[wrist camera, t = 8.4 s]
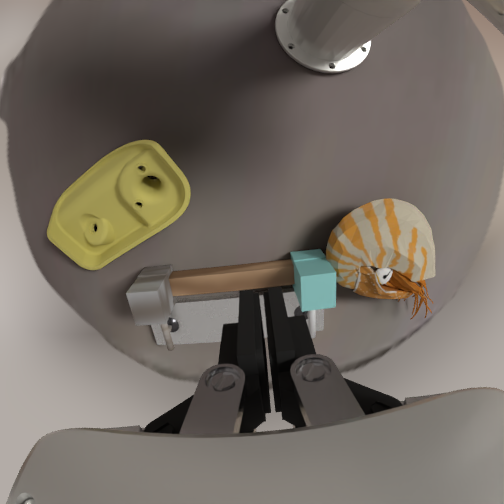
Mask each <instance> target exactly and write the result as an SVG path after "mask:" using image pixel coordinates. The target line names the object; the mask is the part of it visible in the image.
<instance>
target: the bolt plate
mask: <svg viewBox="0 0 504 504" xmlns="http://www.w3.org/2000/svg"><path fill="white" fill-rule="evenodd" d="M263 292H268V291H260V292H254V293H259V298H260V306H261V314H262V323H263V331H264V338H265V337H267V328H266V318H265V308H264V297H263ZM282 292H283V297H284V301H285V306H286V311H287V315H288V317H292V316H300V315H304V316H305V318H306V322H307V325H308V317H307V312H308V311H304V312H302V311H301V308H300V305H299V302H298V299H297V296H296V294H295V291H294V288H287V289H282ZM238 315H239V294H230V295H220V296H209V297H197V298H185V299H177V301H176V303H175V306H174V307H173V309H172V311H171V314H170V316H169V319H168V321H167V324H168V325H171V326H172V329H171V332H170V334H171V338H172V341H173V344H190V343H207V342H221V337H222V328H223V324H228V323H238ZM151 326H152V330H153V333H154V336H155V339H156V342H157V345H166V342H165V339H164V336H163V332H162V329H161V326H160V324H158V325H151ZM323 328H324V309H318V310H316V331H320V330H323Z"/></svg>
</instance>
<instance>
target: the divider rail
mask: <svg viewBox="0 0 504 504" xmlns="http://www.w3.org/2000/svg"><path fill="white" fill-rule="evenodd" d="M325 256H326V255H325ZM172 271H173V269H172V265H164V266H154V267H145V268H144V269H143V270H142V271H141V273H140V274H139V275H138V278H137V279H136V281H135V282H134V283H133V284H132V286H131V287H130V288H129V290H128V291H127V293H126V295H127V299H128V302H129V305H130V308H131V312H132V315H133V318H134V321H135V324H136V325H158V324H160V326H161V329H162V332H163V336H164V339H165V342H166V345H167V348H168V350H169V351H171V350H174V345H173V341H172V338H171V334H170V332H171V329H172V326H171V325H168V324H167V321H168V319H169V316H170V314H171V311H172V309H173V307H174V306H175V303H176V301H177V298H178V296H183V295H194V294H206V293H217V292H227V291H237V290H247V289H257V288H266V287H275V286H284V285H293V284H295V280H294V265H293V262H292V260H291V259H287V260H278V261H269V262H260V263H250V264H241V265H232V266H222V267H212V268H202V269H193V270H183V271H173V272H172Z"/></svg>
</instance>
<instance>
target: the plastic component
mask: <svg viewBox="0 0 504 504" xmlns="http://www.w3.org/2000/svg"><path fill="white" fill-rule="evenodd" d="M139 166H142V167H141V170H140V169H139V168H138V167H139ZM147 176H155V177H157V178H158V179H150V178H148V177H147ZM189 201H190V186H189V183H188V180H187V178H186V177H185V175H184V174H183V173H182V171H181V170H180V169H179V168H178V166H177V165H176V164H175V163H174V162H173V160H172V159H171V158H170V157H169V155H168V154H167V153H166V152H165V150H164V149H163V148H162V147H161V146H160V145H159V144H158V143H157V142H155V141H152V140H139V141H135V142H131V143H128V144H126V145H123V146H121V147H119V148H117V149H116V150H114V151H112V152H111V153H109V154H108V155H106V156H105V157H103V158H102V159H101V160H99V161H98V162H97V163H96V164H94V165H93V166H92V167H91V168H90V169H89V170H87V171H86V172H85V173H84V174H83V175H82V176H81V177H79V178H78V179H77V180H76V181H75V182H74V183H73V184H72V185H71V186H70V187H69V188H67V189H66V190H65V191H64V193H63V194H62V195H61V196H60V198H59V199H58V201H57V203H56V205H55V207H54V209H53V212H52V215H51V218H50V222H49V225H48V229H47V236H48V238H49V240H50V241H51V242H52V243H53V244H54V245H56V246H57V247H58V248H59V249H60V250H61V251H63V252H64V253H65V254H66V255H67V256H68V257H70V258H71V259H72V260H73V261H75V262H76V263H77V264H78V265H79V266H81V267H83V268H85V269H89V270H98V269H101V268H102V267H104V266H105V265H107V264H108V263H110V262H111V261H113V260H114V259H116V258H118V257H119V256H121V255H122V254H124V253H125V252H127V251H129V250H130V249H132V248H133V247H135V246H136V245H138V244H140V243H141V242H143V241H145V240H146V239H148V238H149V237H151V236H153V235H154V234H156V233H158V232H159V231H161V230H162V229H164V228H165V227H167V226H168V225H170V224H171V223H173V222H174V221H175V220H177V219H178V218H179V217H180V216H181V215H182V214H183V213H184V211H185V210H186V208H187V206H188V204H189ZM136 202H140V203H142V205H138V204H137V203H136ZM95 224H96V225H97V231H96V232H95V231H94V226H95Z"/></svg>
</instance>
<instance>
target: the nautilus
mask: <svg viewBox="0 0 504 504" xmlns="http://www.w3.org/2000/svg"><path fill="white" fill-rule="evenodd" d="M326 260H328V261H329V263H330V264H331V266H332V267H333V268H334V270H335V271H336V282H337V283H338V284H340V285H341V286H343V287H347V288H350V289H352V291H354V292H355V293H357V294H359V295H362V296H366V297H372V298H378V299H399V300H400V299H401V298H408V297H409V296H411V295H412V294H413V293H414V294H415V295H414V296H415V303H414V308H413V312H414V309H415V304H416V298H417V308H418V309H417V308H416V312H415V314H414V316H415V315H416V314H417V312H418V310H419V308H420V306H421V304H422V302H423V301H424V303H425V305H426V315H427V308H428V309H429V307H428V306H427V299H426V297H427V296H428V294H427V296H426V295H425V296H426V297H425V296H424V294H425V293H424V291H423V289H422V287H423V286H424V287H425V288H426V283H425V279H428V278H431V277H434V276H435V246H434V242H433V237H432V230H431V228H430V226H429V224H428V222H427V220H426V218H425V216H424V215H423V214H422V213H421V212H420V211H419V210H418V209H417V208H416V207H415V206H414V205H412V204H410V203H407V202H405V201H401V200H397V199H380V200H375V201H372V202H369V203H367V204H365V205H363V206H361V207H359V208H356V209H354V210H353V211H352V212H350V213H349V214H348V215H346V216H345V217H344V218H343V219H342V220H341V221H340V222H339V224H338V225H337V226H336V227H335V228H334V229H333V230H332V231H331V234H330V237H329V240H328V244H327V248H326ZM414 291H415V292H414ZM426 292H427V288H426ZM418 294H419V296H421V299H420V304H419V307H418ZM414 296H412V297H414ZM424 298H425V300H426V302H425V300H424ZM427 298H429V296H428V297H427ZM429 299H430V298H429ZM399 300H398V302H399ZM430 300H431V299H430ZM404 301H405V300H404ZM431 301H432V300H431ZM432 303H433V302H432ZM429 310H430V309H429ZM413 312H412V314H413ZM430 312H431V310H430ZM431 313H432V312H431ZM414 316H413V317H414ZM413 317H412V318H413ZM412 318H411V319H412ZM425 318H426V316H425ZM411 319H410V320H411Z"/></svg>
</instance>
